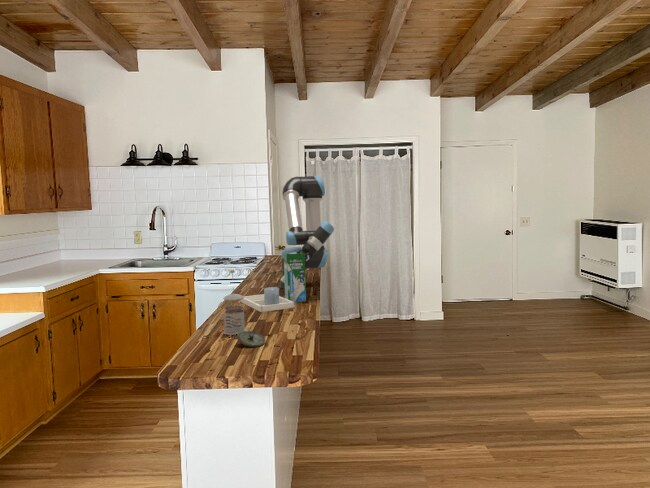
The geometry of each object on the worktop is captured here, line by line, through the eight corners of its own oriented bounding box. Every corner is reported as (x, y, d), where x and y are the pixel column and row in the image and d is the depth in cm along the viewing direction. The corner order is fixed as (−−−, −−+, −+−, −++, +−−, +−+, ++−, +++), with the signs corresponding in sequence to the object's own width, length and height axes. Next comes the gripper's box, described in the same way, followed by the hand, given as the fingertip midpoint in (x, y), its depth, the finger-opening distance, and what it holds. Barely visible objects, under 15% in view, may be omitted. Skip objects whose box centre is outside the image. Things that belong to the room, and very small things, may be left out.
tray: (240, 303, 264) (240, 296, 264) (272, 299, 272) (272, 293, 272) (260, 314, 240) (260, 306, 239) (294, 309, 247) (294, 302, 247)
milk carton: (302, 299, 271) (300, 251, 269) (306, 302, 262) (304, 252, 260) (285, 301, 268) (283, 252, 267) (288, 304, 260) (286, 253, 258)
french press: (242, 335, 204) (239, 271, 202) (214, 334, 206) (211, 271, 204) (250, 328, 213) (248, 267, 211) (224, 328, 216) (221, 267, 213)
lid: (252, 338, 199) (251, 325, 198) (271, 342, 192) (270, 329, 192) (231, 345, 190) (230, 331, 190) (250, 349, 184) (249, 336, 184)
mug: (262, 306, 251) (261, 288, 250) (276, 304, 254) (275, 286, 253) (269, 310, 243) (269, 290, 242) (283, 308, 246) (283, 289, 245)
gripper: (301, 241, 278) (272, 275, 271) (313, 243, 265) (283, 278, 259) (310, 250, 281) (282, 284, 274) (322, 252, 268) (293, 288, 262)
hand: (283, 281), depth 267 cm, fingers closed on milk carton
